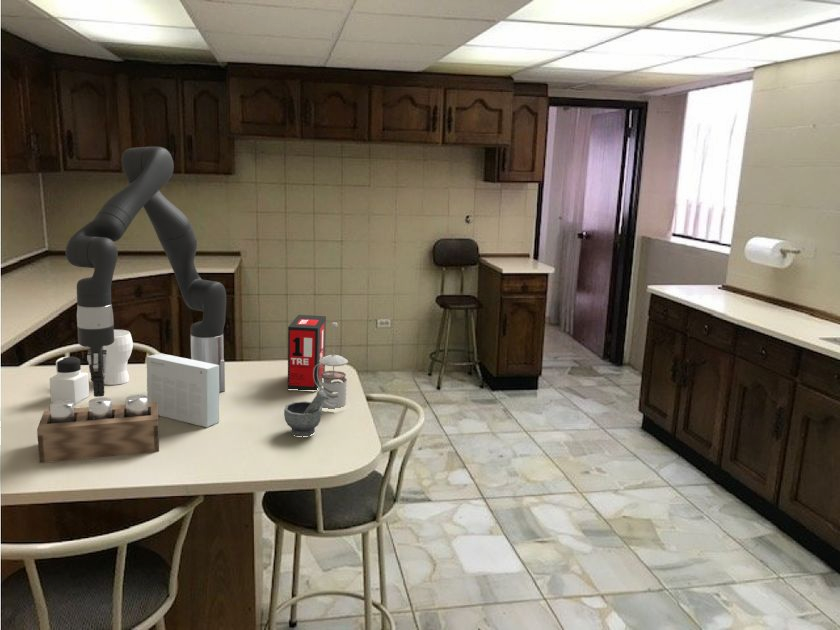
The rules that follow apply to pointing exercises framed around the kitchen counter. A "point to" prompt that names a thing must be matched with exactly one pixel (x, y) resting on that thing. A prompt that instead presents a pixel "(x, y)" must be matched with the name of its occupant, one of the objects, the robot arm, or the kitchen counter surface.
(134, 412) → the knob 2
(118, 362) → the cup
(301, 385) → the cleaning product box
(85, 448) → the wooden spice jar rack
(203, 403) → the skincare box
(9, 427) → the kitchen counter surface
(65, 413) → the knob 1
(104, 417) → the spice jar
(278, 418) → the kitchen counter surface
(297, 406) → the mortar and pestle
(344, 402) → the french press
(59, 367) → the medicine bottle
